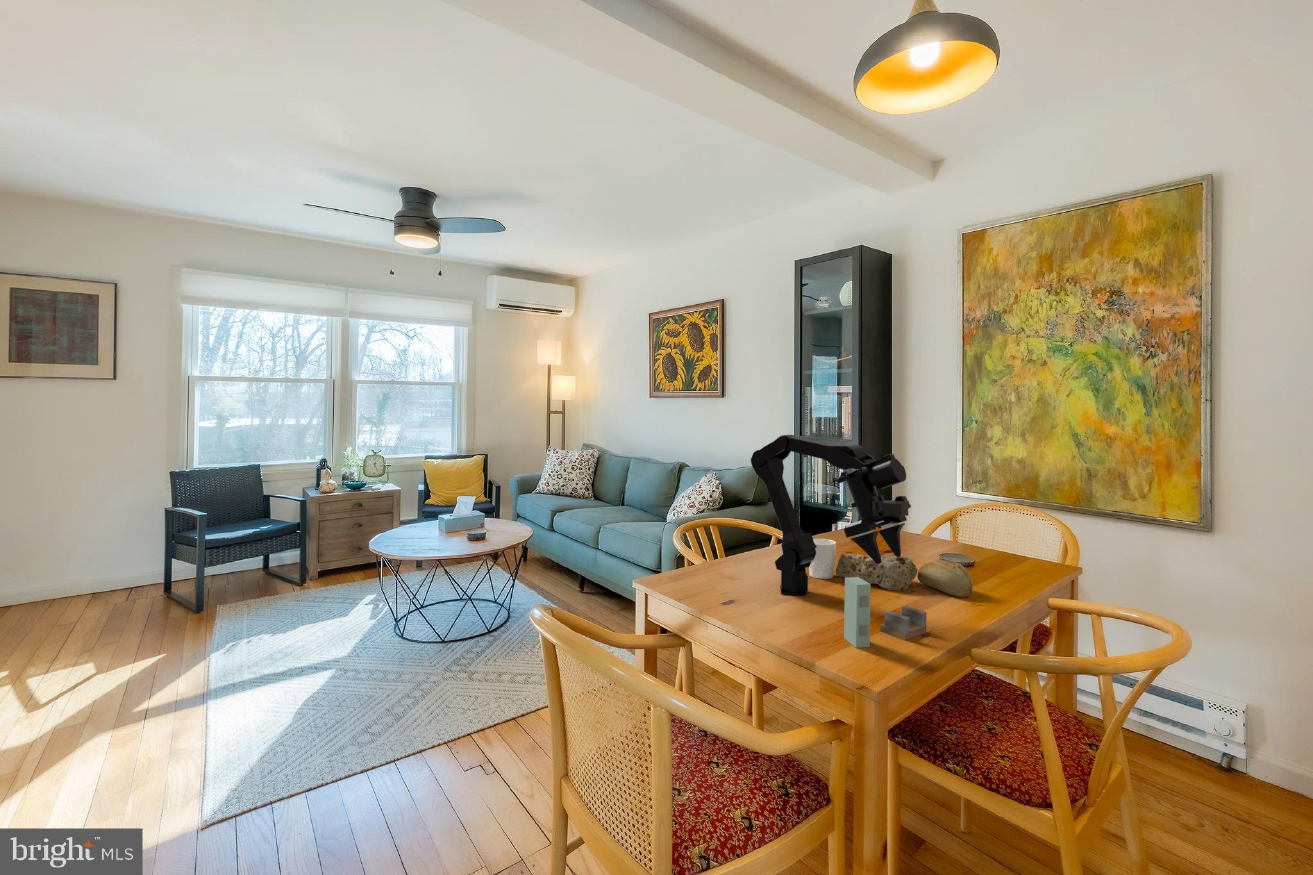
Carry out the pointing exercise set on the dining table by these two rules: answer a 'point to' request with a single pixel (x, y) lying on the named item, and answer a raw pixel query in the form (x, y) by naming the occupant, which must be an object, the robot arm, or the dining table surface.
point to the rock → (878, 570)
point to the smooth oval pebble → (946, 577)
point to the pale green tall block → (857, 612)
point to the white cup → (823, 559)
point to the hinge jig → (904, 623)
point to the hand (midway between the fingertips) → (889, 559)
